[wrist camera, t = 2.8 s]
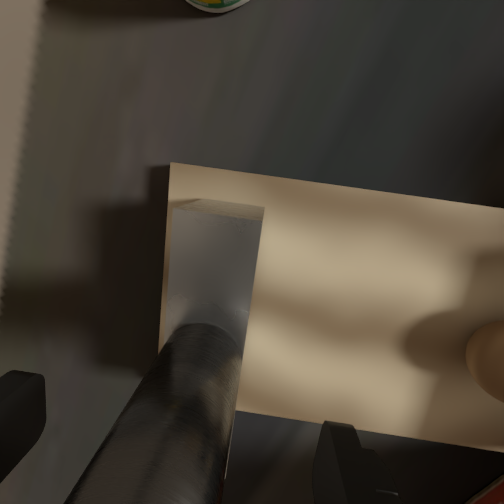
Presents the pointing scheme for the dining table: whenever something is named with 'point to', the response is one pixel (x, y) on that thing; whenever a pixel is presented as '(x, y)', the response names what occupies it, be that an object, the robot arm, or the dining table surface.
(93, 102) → the dining table surface
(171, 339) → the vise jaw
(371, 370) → the base
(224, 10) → the supplement bottle
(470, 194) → the dining table surface
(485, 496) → the food packaging
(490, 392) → the brown round piece
